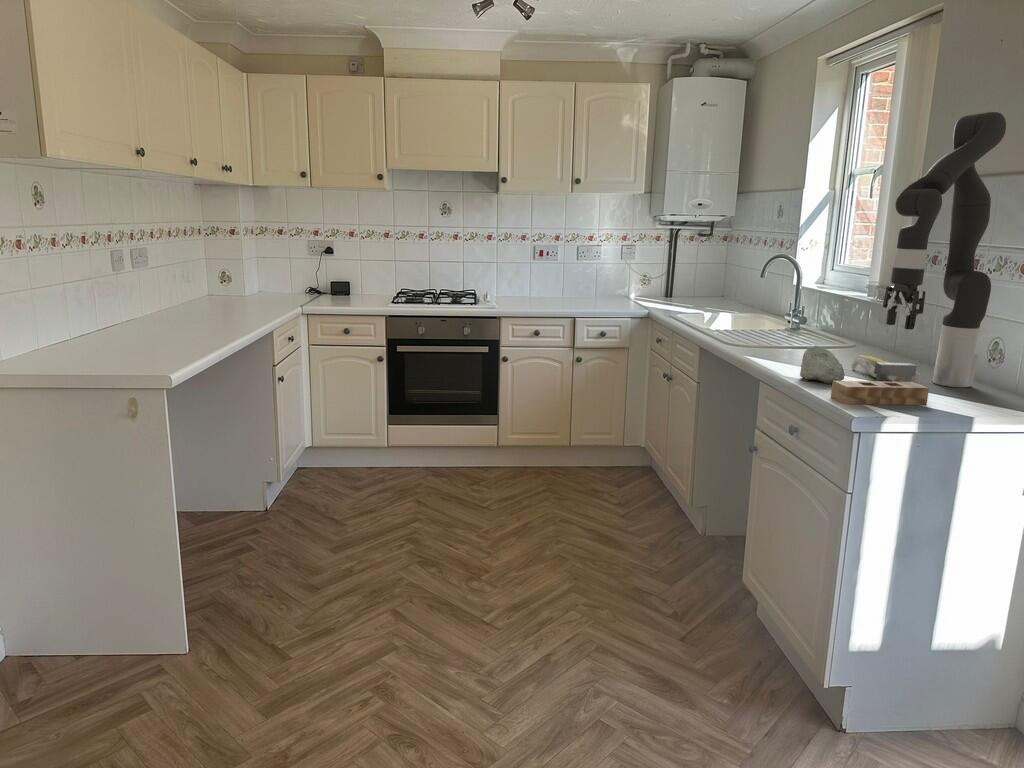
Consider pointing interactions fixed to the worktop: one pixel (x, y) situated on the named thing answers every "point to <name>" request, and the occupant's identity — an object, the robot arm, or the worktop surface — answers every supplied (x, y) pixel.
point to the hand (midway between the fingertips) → (899, 327)
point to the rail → (879, 392)
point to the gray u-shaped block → (895, 371)
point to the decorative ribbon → (870, 370)
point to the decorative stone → (821, 366)
